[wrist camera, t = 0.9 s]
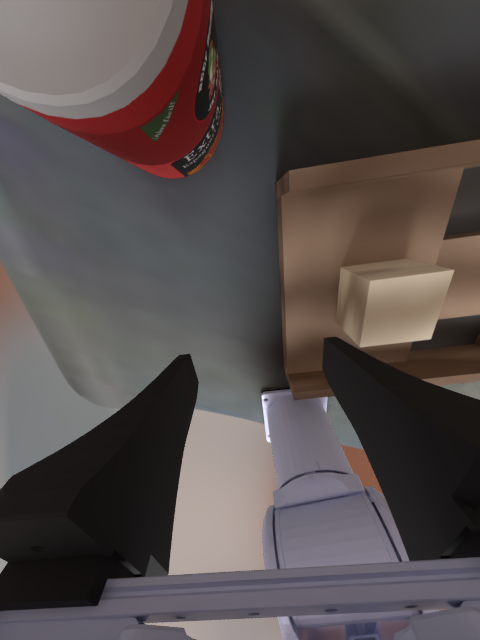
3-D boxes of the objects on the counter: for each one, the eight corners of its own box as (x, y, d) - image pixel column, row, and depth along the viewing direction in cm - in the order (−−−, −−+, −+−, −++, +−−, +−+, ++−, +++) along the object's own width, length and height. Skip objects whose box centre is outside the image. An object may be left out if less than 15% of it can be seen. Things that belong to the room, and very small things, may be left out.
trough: (554, 338, 22) (626, 366, 18) (284, 368, 23) (293, 400, 19) (702, 115, 14) (897, 71, 10) (275, 183, 15) (289, 170, 11)
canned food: (210, 196, 16) (161, 157, 6) (101, 156, 14) (-196, 18, 5) (240, 57, 12) (251, -597, 2) (103, -9, 11) (-930, -1767, 1)
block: (392, 315, 18) (430, 339, 14) (335, 322, 18) (359, 347, 15) (405, 258, 16) (454, 269, 12) (340, 267, 16) (370, 280, 12)
